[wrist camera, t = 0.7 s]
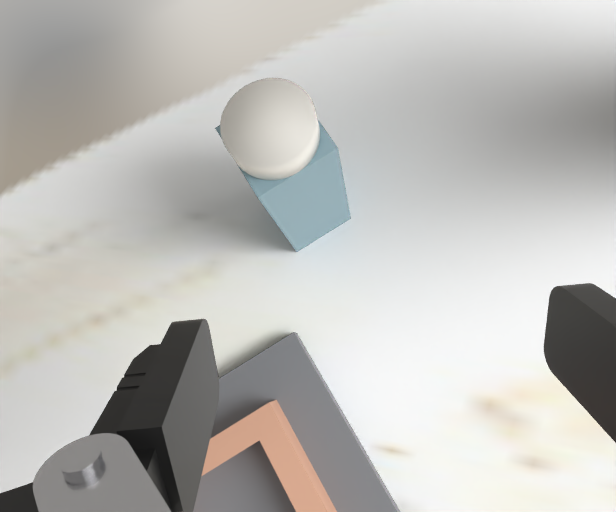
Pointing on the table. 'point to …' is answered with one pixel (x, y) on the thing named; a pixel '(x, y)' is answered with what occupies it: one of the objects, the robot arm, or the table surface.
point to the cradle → (285, 443)
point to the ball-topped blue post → (286, 158)
